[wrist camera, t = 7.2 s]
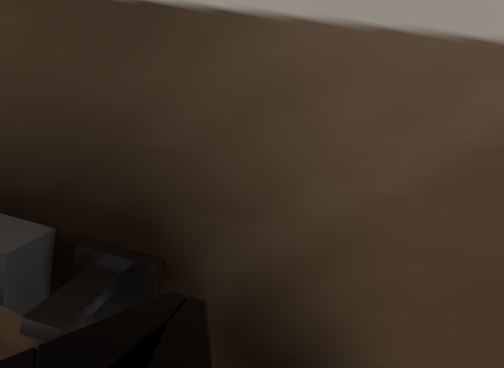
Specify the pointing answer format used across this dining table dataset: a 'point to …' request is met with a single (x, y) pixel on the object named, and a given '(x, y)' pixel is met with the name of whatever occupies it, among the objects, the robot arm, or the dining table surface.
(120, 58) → the dining table surface
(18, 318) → the chute
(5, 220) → the bin
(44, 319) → the stand
